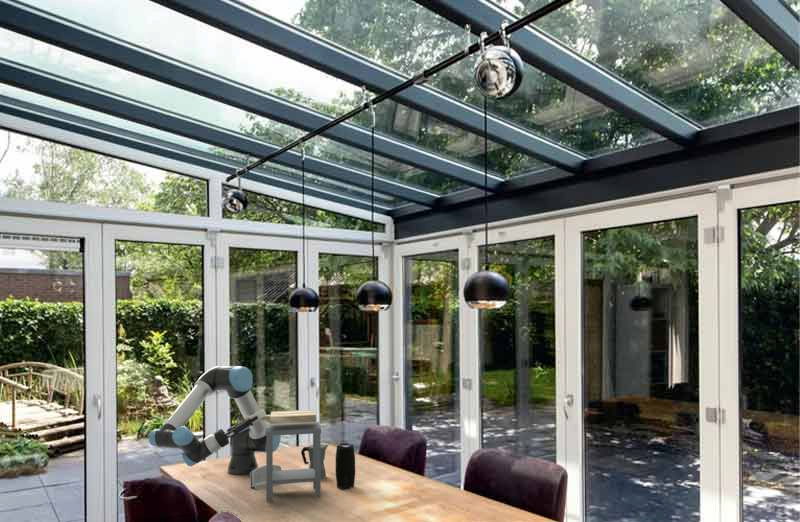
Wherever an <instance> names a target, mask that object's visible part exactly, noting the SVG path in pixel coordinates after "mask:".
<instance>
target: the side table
mask: <svg viewBox="0 0 800 522" xmlns="http://www.w3.org/2000/svg"><path fill="white" fill-rule="evenodd" d="M321 434H322V426H321V424H320V421H316V422H305V423H284V424H267V426H266V457H265V458H266V460H265V461H266V464H265V465H266V487H265V489H266V490H265V492H266V498H265V499H266V501H265V502H266V503H271V502H273V489H274V488H273V487H274V486H273V484H279V485H283V484H284V485H286V484H299V483H311V482H312V484H313V486H312V488H313V490H314V498H315V499H321V498H322V496H321V495H322V487H321V485H322V484H321V483H322V482H321V481H322V479H321V451H320V444H321ZM278 435H281V436H293V435H294V436H296V435H312V445H313V468H311V469H309V468H300V469H299V468H298V469H296V468H295V469H283V470H282V469H281V470H279V471H273V465H274V464H273V463H274V461H273V458H274V455H273V454H274V452H273V436H278Z"/></svg>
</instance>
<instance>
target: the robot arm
mask: <svg viewBox="0 0 800 522" xmlns="http://www.w3.org/2000/svg"><path fill="white" fill-rule="evenodd" d="M253 377H254V376H253V373H252V371H251V370H250V369H249V368H248V367H246V366H243V365H242V366H240V365H216V366H214V367H211V368H210V369H208V370H206V372H204V373H203V374H201V375H200V377H199V378H198V379H197V380H196V381H195V382H194V387H193V388H192V390H191V391H190V392H189V393H188V394H187V396H185V398H184V399H183V400H182V401H181V402H180V404H179V405H178V407H176V409H175V410H174V411H173V413H172V414H171V415H170V416H169V418H168V419H167V420H166V421H165V422H164V423H163V424H162V426H161V428H154V429H153V430H151V431H150V433H149V436H148V442H149V444H150V445H151V446H152V447H155V448H166V449H168V448H169V449H175V450H176V449H177V450H182V453H181V457H182V459H183V461H184V462H185V464H186V465H187V466H188V467H193V466H195V465H197V464H199V463H200V462H202V461H203V460H205V459H207V458H208V457H209V456H212V455H213V454H214V453H215V454H217V453H218V451H220V450H221V449H222V448H224V447H226V446H228V445H229V444H230V442H231V457H230V460H229V464H228V466H227V473H229V474H232V475H247V474H250V473H251V471H253V470H255V469H256V468H259V465H258V461H257V458H256V456H255V452H257V453H266V426H267V424H270V421H257V420H259V419H261V418H262V417H264V416H266V415H267V413H266V411H265V409H264V408H261V409H260V407H259V405H258V403H257V401H256V399H255V397H254V394H253V392H252V391H251V390H252V386H253V384H254V383H253V381H254V380H253ZM217 391H226V393H227V395H228V397H229V398H230V399H234V401H235V404H236V406H237V407H238V409H239V411H240V413H241V415H242V417H243V420H241V421H240V422H238V423H236V424H234V425H232V426H229V427H228V428H227V429H226V431H224V429H221V428H220V429H218V430H216V431H215V432H213V433H212V434H210V435H208V436H206V437H205V438H203V439H201V440H199V438H198V437H197V436H196V435H195V434H194V433H193V432H192V430H191V429H189V428H188V427H187V426H186V424H187V423H188V422H189V420H190V419H191V418H192V416H193V415H194V414H195V413H196V412H197V410H198V409H199V408H200V406H201V405H202V404H203V403H204V401H206V398H207V397H210V396H211V395H213V393H215V392H217ZM246 416H252V417H250V419H248V420H246V421H245V417H246ZM281 436H282V435H278V436H273V453H274V452H275V451H277V450H278V448H279V446H280V443H281ZM229 438H231V441H230V440H229Z"/></svg>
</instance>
